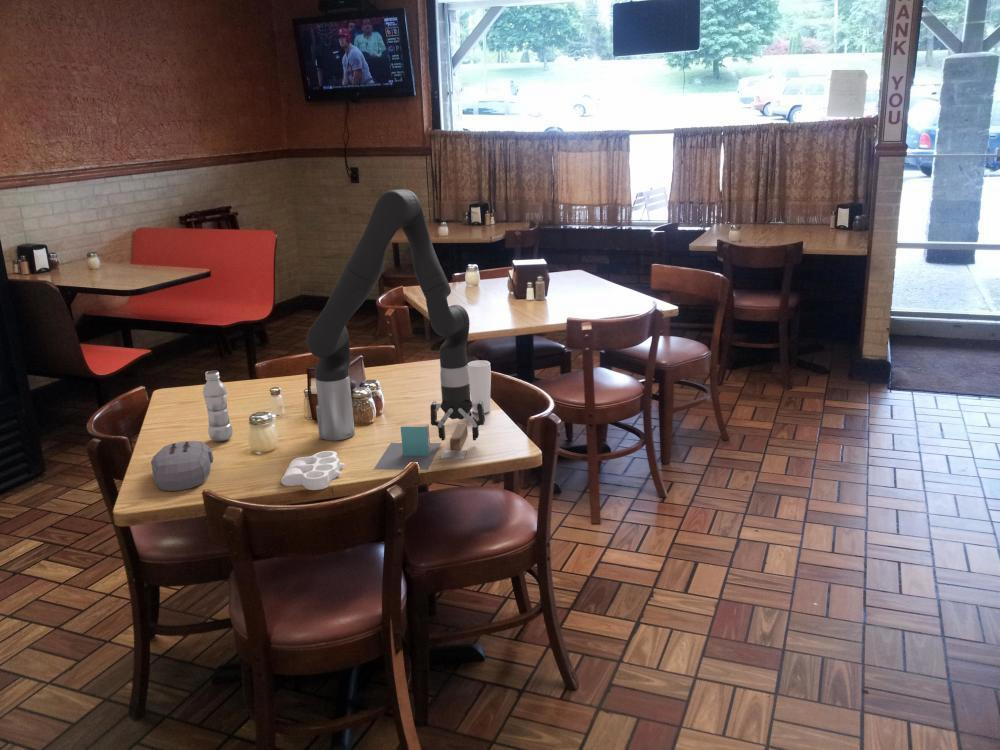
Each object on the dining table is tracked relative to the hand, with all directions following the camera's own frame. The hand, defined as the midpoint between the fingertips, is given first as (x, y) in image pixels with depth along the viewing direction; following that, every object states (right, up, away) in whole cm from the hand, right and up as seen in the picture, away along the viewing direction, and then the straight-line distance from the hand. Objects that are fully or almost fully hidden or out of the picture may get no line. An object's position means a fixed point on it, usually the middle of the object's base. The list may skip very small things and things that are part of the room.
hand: (459, 439), depth 237 cm
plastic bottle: (-68, -1, +14) cm, 69 cm away
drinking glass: (+5, +6, +27) cm, 29 cm away
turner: (0, -2, 0) cm, 2 cm away
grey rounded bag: (-70, -9, -11) cm, 71 cm away
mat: (-13, -4, -5) cm, 15 cm away
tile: (-11, -3, -3) cm, 12 cm away
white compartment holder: (-36, -9, -13) cm, 39 cm away
